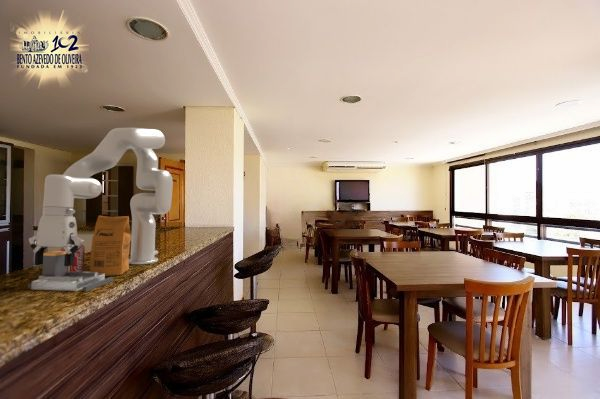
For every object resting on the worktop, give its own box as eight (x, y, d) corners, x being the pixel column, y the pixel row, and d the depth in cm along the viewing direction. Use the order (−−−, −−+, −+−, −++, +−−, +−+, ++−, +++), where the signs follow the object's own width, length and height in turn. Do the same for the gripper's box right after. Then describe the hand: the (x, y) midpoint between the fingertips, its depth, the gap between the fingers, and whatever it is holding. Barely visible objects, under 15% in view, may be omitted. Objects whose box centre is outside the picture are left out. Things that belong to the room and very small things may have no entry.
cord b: (56, 279, 97) (56, 276, 97) (60, 279, 97) (60, 276, 97) (27, 288, 87) (28, 284, 87) (31, 288, 87) (31, 284, 87)
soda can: (69, 278, 98) (71, 244, 99) (53, 276, 100) (55, 243, 100) (88, 273, 105) (89, 241, 106) (73, 272, 107) (74, 240, 107)
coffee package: (98, 270, 111) (101, 214, 111) (132, 270, 113) (135, 215, 113) (83, 277, 101) (86, 216, 101) (120, 276, 103) (123, 216, 103)
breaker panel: (65, 279, 98) (65, 269, 98) (104, 280, 97) (105, 270, 97) (31, 289, 86) (31, 278, 86) (76, 290, 85) (76, 279, 85)
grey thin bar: (110, 280, 97) (110, 277, 97) (113, 280, 97) (113, 277, 97) (82, 291, 85) (82, 287, 85) (86, 291, 85) (86, 287, 85)
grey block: (53, 274, 94) (54, 250, 94) (65, 274, 94) (66, 251, 94) (42, 277, 90) (43, 252, 90) (54, 277, 90) (55, 253, 90)
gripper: (92, 213, 95) (89, 263, 95) (43, 211, 96) (39, 262, 95) (74, 213, 88) (71, 268, 87) (20, 211, 88) (16, 266, 88)
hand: (54, 265), depth 91 cm, fingers open, 9 cm apart
